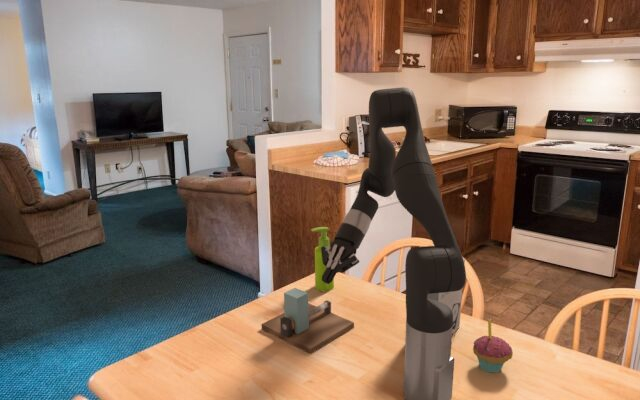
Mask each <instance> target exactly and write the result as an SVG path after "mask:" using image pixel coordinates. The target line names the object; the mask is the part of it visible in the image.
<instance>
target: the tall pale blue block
mask: <svg viewBox="0 0 640 400" xmlns="http://www.w3.org/2000/svg"><path fill="white" fill-rule="evenodd" d="M283 302H284V303H283V304H284V313H285V317H286V318H291V319H292V320H293V321H294V323H295V328H294V332H295V333H297V334H299V333H301V332H303V331H305V330H307V329H308V328H309V306H308V303H309V292H307V291H303V290H302V289H300V288H297V287H294V288H292V289H289V290H287V291H284V292H283Z"/></svg>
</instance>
